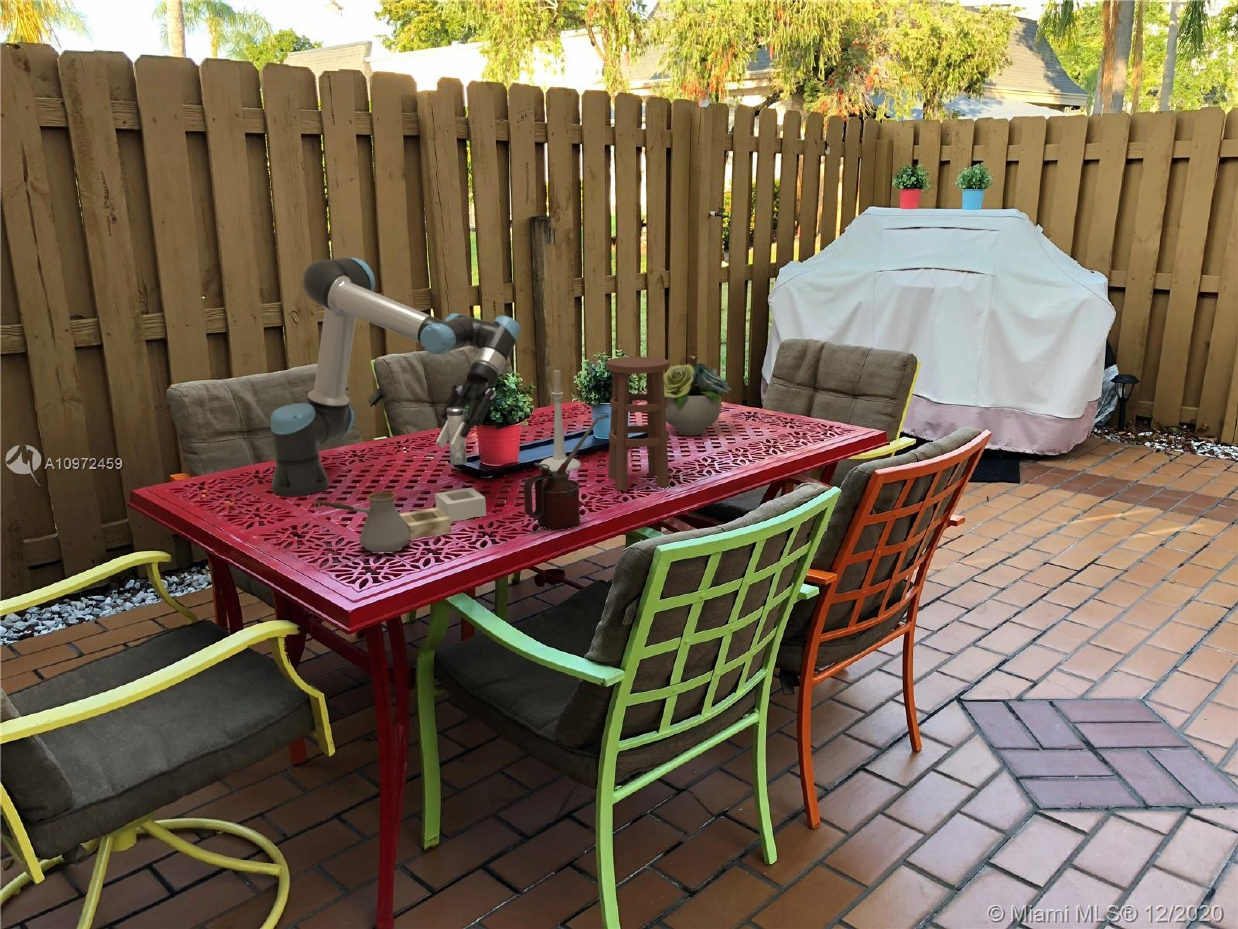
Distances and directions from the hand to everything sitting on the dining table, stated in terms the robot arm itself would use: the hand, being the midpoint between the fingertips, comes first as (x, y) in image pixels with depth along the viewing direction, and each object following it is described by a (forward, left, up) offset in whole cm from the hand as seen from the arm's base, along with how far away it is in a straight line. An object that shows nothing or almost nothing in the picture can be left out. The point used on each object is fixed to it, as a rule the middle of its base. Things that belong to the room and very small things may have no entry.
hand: (447, 445), depth 219 cm
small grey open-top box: (+3, +2, -19) cm, 20 cm away
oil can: (+26, -16, -19) cm, 36 cm away
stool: (+56, +2, -19) cm, 59 cm away
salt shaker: (+3, +2, -5) cm, 6 cm away
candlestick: (+44, +29, -20) cm, 56 cm away
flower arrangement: (+101, +43, -19) cm, 112 cm away
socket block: (-9, -6, -19) cm, 22 cm away
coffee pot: (-25, -13, -20) cm, 34 cm away
